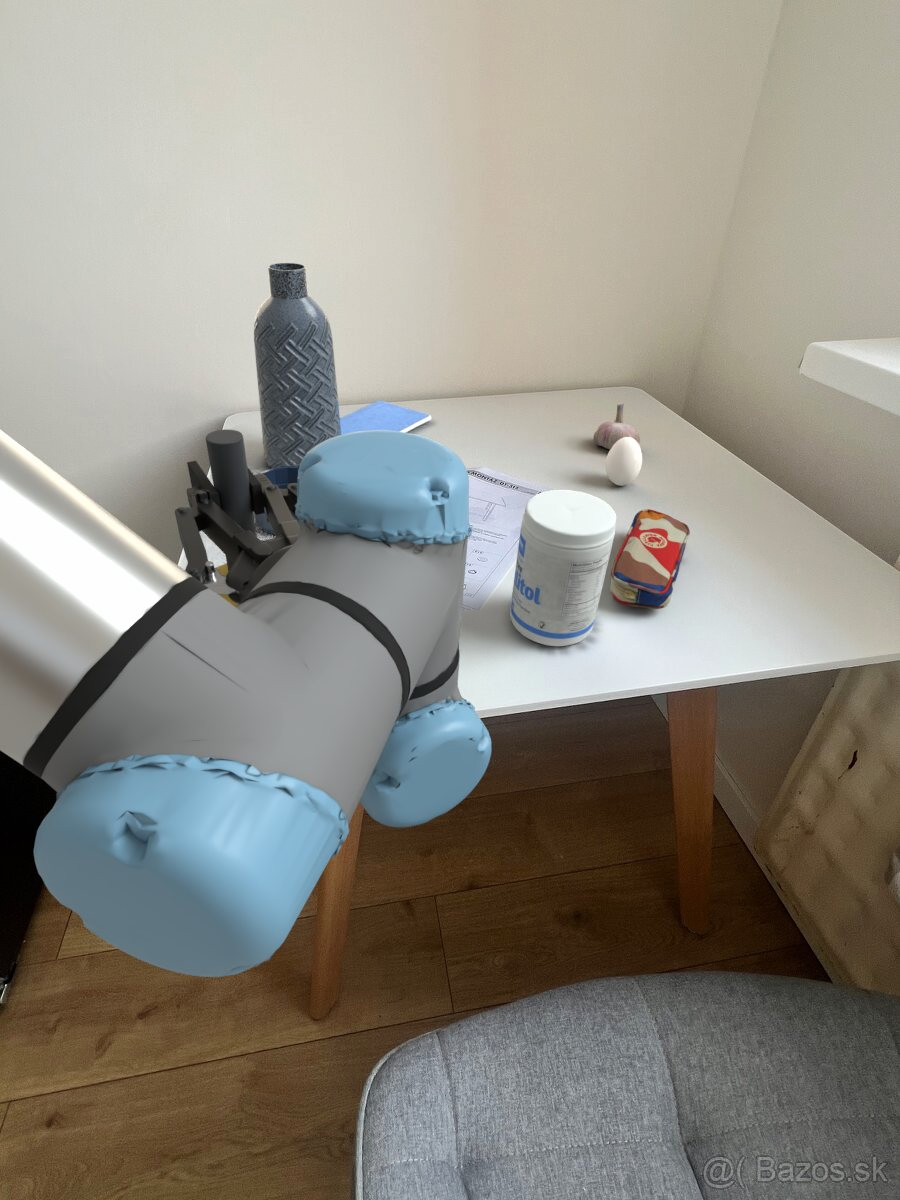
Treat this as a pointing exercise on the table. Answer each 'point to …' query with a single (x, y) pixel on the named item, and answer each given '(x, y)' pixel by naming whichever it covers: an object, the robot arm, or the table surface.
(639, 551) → the pencil case
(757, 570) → the table surface
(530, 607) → the supplement tub
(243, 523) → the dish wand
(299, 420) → the vase
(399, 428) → the tablet
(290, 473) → the bowl
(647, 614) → the table surface
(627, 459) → the egg
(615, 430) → the garlic bulb
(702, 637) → the table surface
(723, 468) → the table surface
